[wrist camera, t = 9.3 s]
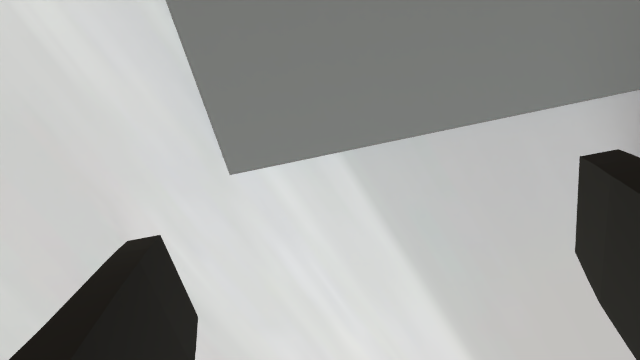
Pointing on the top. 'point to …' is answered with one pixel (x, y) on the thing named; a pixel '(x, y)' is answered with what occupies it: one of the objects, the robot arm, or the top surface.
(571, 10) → the gray mat
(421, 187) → the top surface
